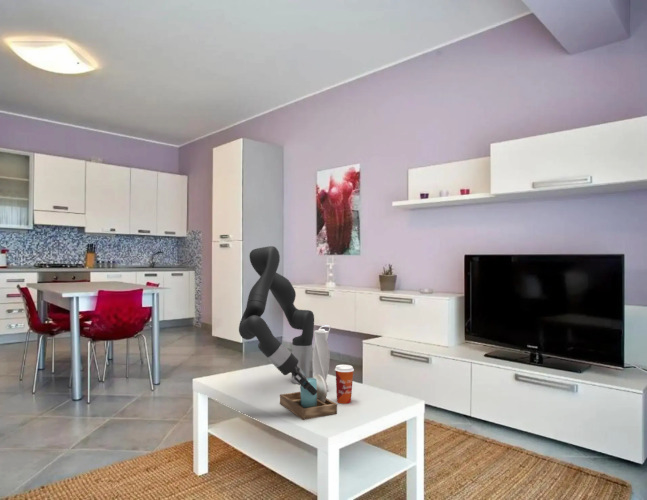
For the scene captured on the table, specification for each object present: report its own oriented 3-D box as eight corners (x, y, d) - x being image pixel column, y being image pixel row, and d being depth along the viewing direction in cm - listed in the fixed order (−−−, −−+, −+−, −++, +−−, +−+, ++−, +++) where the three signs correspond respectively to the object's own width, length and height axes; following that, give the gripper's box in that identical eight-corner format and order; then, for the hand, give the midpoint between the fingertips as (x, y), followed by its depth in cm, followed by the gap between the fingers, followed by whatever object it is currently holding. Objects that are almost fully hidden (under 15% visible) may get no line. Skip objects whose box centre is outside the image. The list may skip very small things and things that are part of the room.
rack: (311, 398, 180) (312, 369, 180) (336, 413, 163) (337, 380, 163) (279, 403, 173) (280, 372, 173) (302, 419, 156) (303, 385, 156)
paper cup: (340, 405, 172) (340, 369, 172) (330, 400, 179) (331, 365, 179) (357, 403, 175) (358, 367, 176) (347, 397, 182) (348, 363, 183)
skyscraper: (325, 387, 198) (326, 324, 198) (332, 391, 190) (333, 326, 191) (307, 388, 194) (308, 324, 195) (314, 393, 187) (315, 327, 188)
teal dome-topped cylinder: (312, 406, 167) (311, 376, 167) (319, 410, 162) (319, 380, 162) (297, 409, 164) (297, 379, 164) (305, 414, 159) (304, 383, 159)
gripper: (292, 355, 155) (324, 388, 157) (288, 348, 169) (318, 378, 171) (276, 371, 154) (309, 404, 156) (274, 362, 168) (304, 392, 170)
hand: (313, 390), depth 163 cm, fingers open, 6 cm apart
